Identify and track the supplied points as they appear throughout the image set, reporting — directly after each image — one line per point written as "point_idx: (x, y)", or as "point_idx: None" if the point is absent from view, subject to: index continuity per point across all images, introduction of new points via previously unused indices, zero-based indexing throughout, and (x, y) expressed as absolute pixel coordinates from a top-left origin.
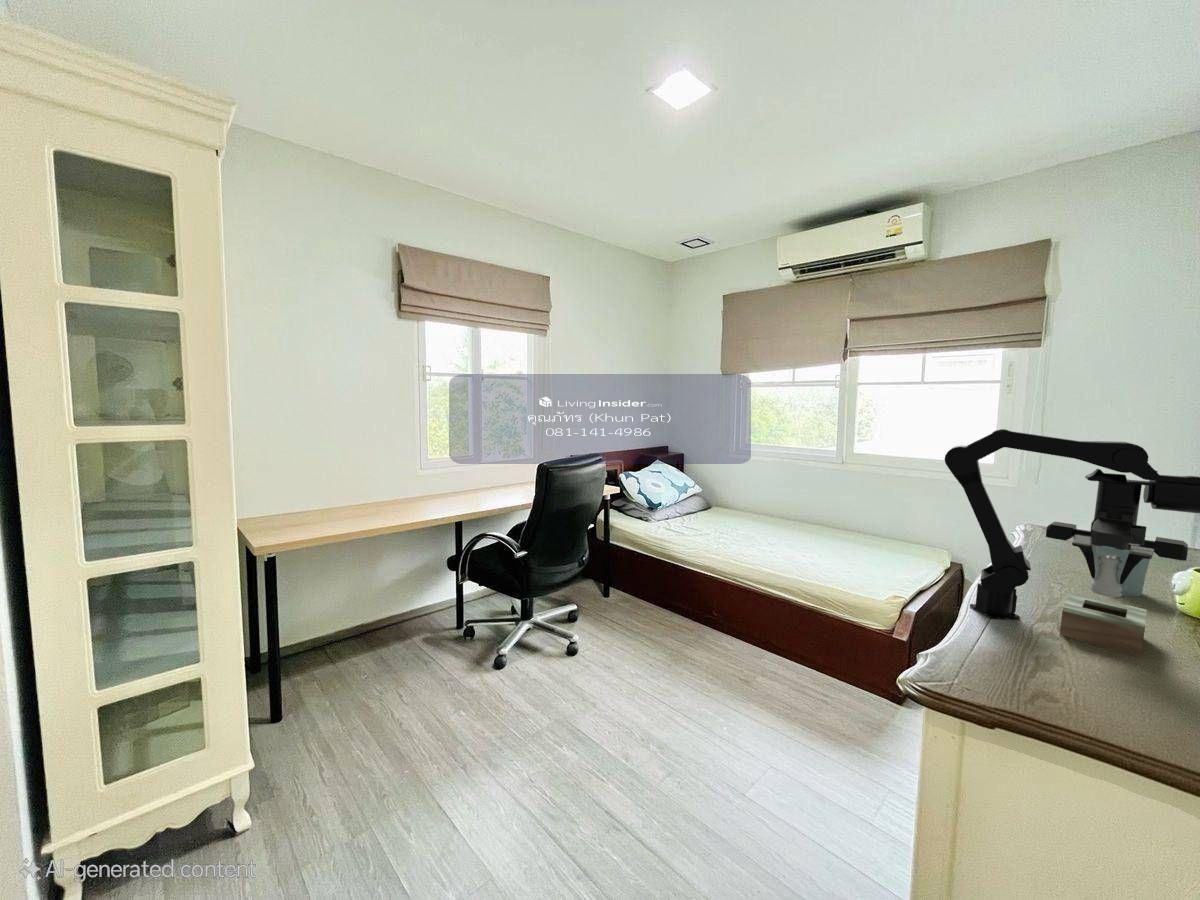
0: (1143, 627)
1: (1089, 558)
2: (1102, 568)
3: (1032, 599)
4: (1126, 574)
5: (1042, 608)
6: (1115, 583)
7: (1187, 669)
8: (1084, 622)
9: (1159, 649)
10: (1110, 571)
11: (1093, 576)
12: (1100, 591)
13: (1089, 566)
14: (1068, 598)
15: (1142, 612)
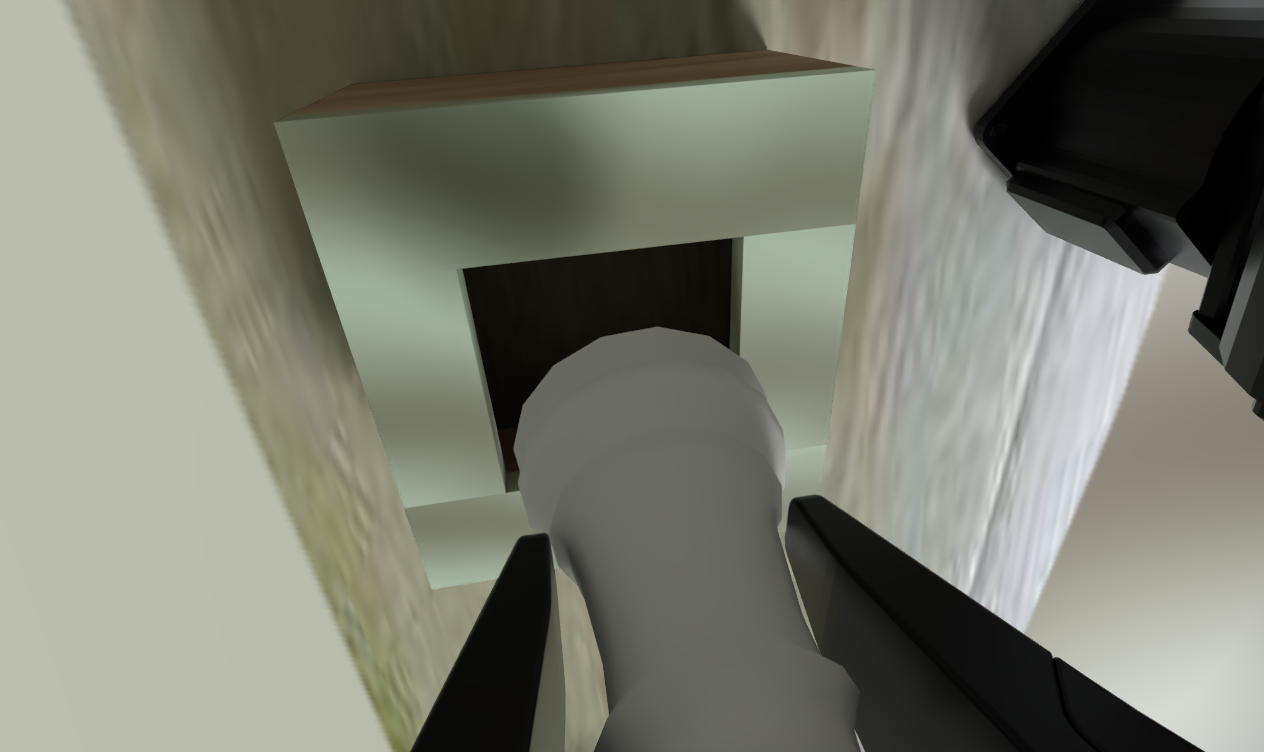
0: (287, 119)
1: (1107, 748)
2: (798, 641)
3: (888, 531)
4: (479, 672)
5: (851, 450)
6: (584, 502)
7: (136, 134)
8: (683, 74)
9: (351, 355)
10: (686, 619)
11: (816, 505)
12: (682, 351)
13: (956, 604)
14: (829, 378)
15: (428, 516)
